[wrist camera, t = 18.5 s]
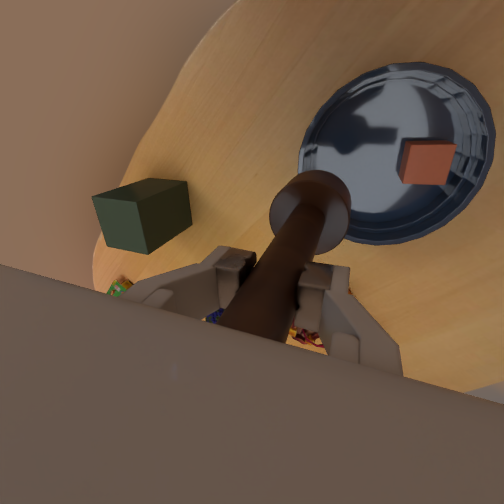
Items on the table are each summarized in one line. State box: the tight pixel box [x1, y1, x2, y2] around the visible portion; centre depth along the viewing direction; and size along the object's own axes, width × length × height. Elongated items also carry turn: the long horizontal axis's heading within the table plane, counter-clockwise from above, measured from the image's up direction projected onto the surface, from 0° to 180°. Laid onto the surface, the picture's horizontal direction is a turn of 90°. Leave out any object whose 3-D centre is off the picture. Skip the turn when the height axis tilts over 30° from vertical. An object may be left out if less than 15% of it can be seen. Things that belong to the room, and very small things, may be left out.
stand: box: [92, 178, 192, 255], centre depth 42 cm, size 8×8×12 cm
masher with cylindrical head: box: [215, 170, 351, 343], centre depth 12 cm, size 5×5×14 cm
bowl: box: [298, 62, 496, 245], centre depth 30 cm, size 18×18×6 cm
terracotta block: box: [398, 140, 457, 185], centre depth 29 cm, size 4×4×4 cm
